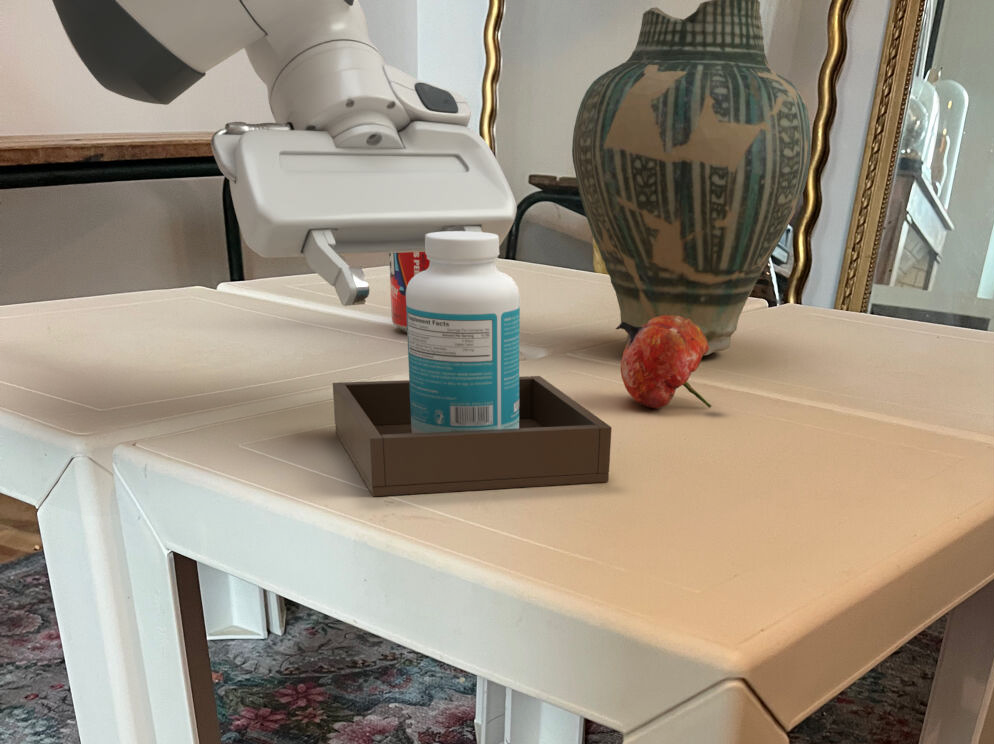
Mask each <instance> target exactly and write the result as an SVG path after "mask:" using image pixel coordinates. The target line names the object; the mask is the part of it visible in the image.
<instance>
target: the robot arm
mask: <svg viewBox="0 0 994 744" xmlns="http://www.w3.org/2000/svg"><path fill="white" fill-rule="evenodd" d="M51 1H52V3H53V5H54V9H55V12H56V13H57V17H58V18H59V21H60V23H61V26H62V28H63V31H64V33H65V35H66V37H67V40H68V41H69V43H70V45H71V47H72V49H73V50H74V52H75V53H76V55H77V56H78V58H79V60H80V61H81V62H82V64H83V65H84V67H86V68H87V70H88V71H89V73H90V74H91V75H92V76H93V78H94V79H95V80H96V81H97V82H98V84H100V85H101V86H102V87H103V88H104V89H106V90H107V91H108V92H109V91H110V92H112V93H114V94H116V95H119V96H121V97H123V98H126V99H127V98H128V99H130V100H134V101H138V102H142V103H148V104H155V105H163V106H165V105H170V104H171V103H172V102H173V101H175V100H176V99H177V98H178V97H180V96H181V95H182V94H184V93H185V92H187V91H188V90H189V89H190V88H191V87H192V86H194V85H196V84H197V82H199V81H200V80H201V79H203V78H204V77H206V75H207V73H206V72H208V71H209V70H211V69H213V68H214V67H216V66H218V65H219V64H221V63H222V62H224V61H226V60H228V59H229V58H230V57H232V56H234V55H236V54H238V52H241V51H242V50H245V53H246V56H247V59H248V60H249V63H250V65H251V66H252V68H253V71H254V72H255V74H256V75H257V76H258V78H259V79H260V80H261V81H262V82H263V84H264V85H265V86H266V89H267V98H268V104H269V108H270V111H271V114H272V116H273V119H274V122H261V123H247V122H245V121H232V122H227V123H225V125H224V128H221V129H217V131H216V132H215V133H213V135H212V136H211V141H210V146H211V151H212V155H213V157H214V160H215V162H216V164H217V166H218V170H220V172H221V174H223V176H224V177H225V178H226V179H227V180H229V189H230V195H231V199H232V204H233V208H234V213H235V215H236V220H237V222H238V226H239V230H240V232H241V235H242V238H243V241H244V243H245V244H246V246H247V247H248V248H250V249H251V250H252V251H253V252H255V253H256V254H257V255H259V256H260V257H262V258H265V259H266V258H267V259H271V258H292V257H293V258H295V257H297V258H298V257H304V258H305V260H306V262H307V265H308V267H309V268H310V269H311V270H312V271H314V272H315V273H316V274H317V275H318V276H319V277H321V278H322V279H323V280H325V282H326V283H328V284H329V285H330V286H332V287H334V290H335V292H336V294H337V296H338V299H339V301H340V304H341V305H342V306H343V307H351V306H360V305H365V304H366V302H367V300H366V299H367V298H368V297H369V296H370V291H371V290H370V285H369V282H368V281H367V280H366V279H365V276H366V275H365V273H364V271H363V268H362V267H351V266H349V264H348V263H347V262H345V260H344V259H343V258H341V256H344V255H345V256H346V255H373V254H389V253H401V252H425V235H426V234H428V233H433V232H445V231H470V232H484V233H492V234H496V235H498V236H499V247H500V246H501V245H502V243H503V242H504V241H505V239H506V237H507V236H508V234H509V232H510V231H511V229H512V226H513V225H514V223H515V220H516V216H517V212H518V206H517V202H516V198H515V196H514V193H513V191H512V188H511V187H510V184H509V182H508V180H507V178H506V176H505V174H504V172H503V170H502V167H501V165H500V164H499V162H498V160H497V158H496V156H495V154H494V153H493V151H492V149H491V148H490V146H489V145H488V144H487V142H486V141H485V140H484V138H483V137H482V136H481V135H480V134H479V133H477V132H476V131H475V130H474V129H471V128H470V127H468V126H469V123H470V120H471V117H472V112H471V109H470V106H469V104H468V102H467V100H466V99H465V98H464V97H463V96H462V95H461V94H459V93H457V92H455V91H452V90H450V89H446V88H444V87H439V86H437V85H434V84H431V83H428V82H426V81H424V80H421V79H419V78H417V77H414V76H412V75H410V74H408V73H406V72H404V71H402V70H400V69H399V68H397V67H395V66H392V65H389V64H387V62H386V60H385V58H384V56H383V54H382V53H381V51H380V50H379V49H378V47H377V46H376V45H375V44H374V43H373V42H372V41H371V39H370V36H369V28H368V22H367V18H366V15H365V12H364V10H363V7H362V6H361V4H360V1H359V0H51Z"/></svg>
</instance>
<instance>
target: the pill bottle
mask: <svg viewBox="0 0 994 744" xmlns="http://www.w3.org/2000/svg"><path fill="white" fill-rule="evenodd" d="M425 254H426V255H427V259H428V260H430V265H429V267H428V269H427V270H425V271H422V272H420V273H418V274H416V275H415V276H414V277H413V278H412V279H411V280H410V282H409V283H408V285H407V289H406V312H407V332H406V333H407V357H408V359H407V360H408V380H409V384H410V408H411V430H412V433H431V432H452V431H474V430H495V429H517V428H519V377H520V336H521V335H520V333H521V332H520V330H521V329H520V327H521V324H520V323H521V321H520V320H521V318H520V317H521V311H520V310H521V295H520V289H519V287H518V285H517V283H516V281H514V279H513V278H512V277H511V276H510V275H509V274H507V273H504V272H503V271H500V270H498V268H497V267H496V261H498V257H499V255H500V246H499V236H498V235H496V234H492V233H484V232H470V231H445V232H433V233H428V234H426V235H425Z"/></svg>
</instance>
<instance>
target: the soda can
mask: <svg viewBox="0 0 994 744" xmlns="http://www.w3.org/2000/svg"><path fill="white" fill-rule="evenodd" d="M388 257H389V258H388V260H389V261H388V262H389V286H390V311H391V314H390V315H391V322H392V323H393V325H394V326H396V327H397V328H399V329H400V330H401V331H403V333H407V312H406V289H407V285H408V283H409V282H410V280H411V279H412V278H413V277H414V276H415V275H416V274H418V273H420V272H422V271H425V270H427V269H428V267H429V265H430V260H428V259H427V255H426V254H425V252H401V253H388Z"/></svg>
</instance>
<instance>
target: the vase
mask: <svg viewBox="0 0 994 744" xmlns="http://www.w3.org/2000/svg"><path fill="white" fill-rule="evenodd" d="M760 11H761V2H760V1H759V0H706V1H704V2H700V3H699V4H698V7H697V8H696V9H695V11H694V12H692V13H691V14H690V15H688V16H687V17H685V18H684V19H683V18H678V17H675V16H672V15H670V14H668V13H666V12H664V11H663V10H662V9H660V8H659V7H658V6H654V7H650V8H649V9H648V10H645V11H644V12H643V13H642V18H641V26H640V30H639V34H638V38H637V42H636V44H635V48H634V49H633V50H632V52H631V55H630V56H629V57H628V59H627V60H626V61H625V62H622V63H620V64H619V65H617V66H615V67H613V68H612V69H610V70H607V71H606V72H604V73H602V74H601V75H599V76H598V77H597V78H596V79H595V80H593V82H591V84H590V86H589V87H588V88H587V90H586V91H585V93H584V95H583V97H582V100H581V101H580V103H579V107H578V111H577V115H576V117H575V123H574V127H573V135H572V145H571V146H572V148H571V155H572V157H571V158H572V163H573V167H574V173H575V179H576V183H577V188H578V192H579V198H580V200H581V204H582V207H583V211H584V215H585V217H586V220H587V223H588V227H589V229H590V232H591V234H592V238H593V240H594V242H595V244H596V246H597V249H598V252H599V254H600V257H601V259H602V261H603V263H604V267H605V270H606V272H607V274H608V276H609V278H610V283H611V286H612V287H613V289H614V292H615V296H616V300H617V303H618V307H619V311H620V314H619V315H620V323H621V322H626V323H628V324H630V325H632V326H634V327H642V326H643V325H646V324H647V323H648V321H649V320H651V319H653V318H655V317H659V316H661V315H674V316H681V317H683V318H684V319H690V320H691V321H692V322H693V323H694V324H695V325H696V326H698V327H699V328H700V330H701V331H702V332H703V334H704V335H705V337H706V339H707V342H708V346H709V351H708V352H707V353H706V354H705V355H703V356H708V355H710V354H712V353H715V352H716V353H717V352H722V351H725V350H728V349H729V348H731V342H732V341H731V340H732V335H734V333H735V332H736V331H737V329H738V324H739V323H738V322H739V320H740V316H741V314H742V312H743V309H744V308H745V305H746V302H747V301H748V299H749V297H750V296H751V294H752V292H753V290H754V287H755V285H756V283H757V282H758V280H759V279H760V276H761V274H762V273H763V272H764V269H765V267H766V265H767V264H768V262H769V260H770V258H771V257H772V256H773V253H774V251H775V250H776V248H777V247H778V245H779V243H780V241H781V239H782V238H783V236H784V234H785V233H786V230H787V229H788V227H789V225H790V222H791V220H792V219H793V217H794V215H795V213H796V210H797V209H798V206H799V203H800V201H801V199H802V196H803V193H804V190H805V187H806V183H807V178H808V174H809V169H810V163H811V156H812V155H811V152H812V151H811V150H812V136H811V123H810V116H809V110H808V107H807V103H806V99H805V98H804V96H803V94H802V93H801V91H800V90H799V89H798V87H796V86H795V84H793V82H792V81H791V80H788V79H787V78H785V77H784V76H782V75H780V74H778V73H777V72H775V71H774V70H773V69H771V67H770V66H769V63H768V58H767V55H766V52H765V44H764V33H763V29H764V28H763V24H762V16H761V12H760ZM628 342H629V337H628V336H627V337H626V345H627V344H628Z"/></svg>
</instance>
